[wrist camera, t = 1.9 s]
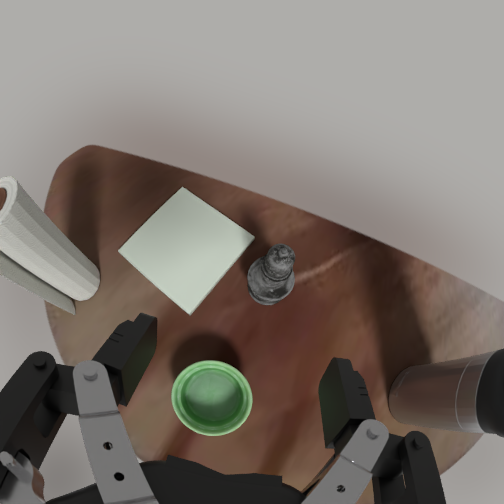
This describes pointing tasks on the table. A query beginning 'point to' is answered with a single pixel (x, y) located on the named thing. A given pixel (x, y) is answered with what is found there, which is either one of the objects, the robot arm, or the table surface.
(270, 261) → the salt shaker
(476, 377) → the robot arm
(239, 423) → the ramekin
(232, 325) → the table surface
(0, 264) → the paper towel roll
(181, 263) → the sage tile
